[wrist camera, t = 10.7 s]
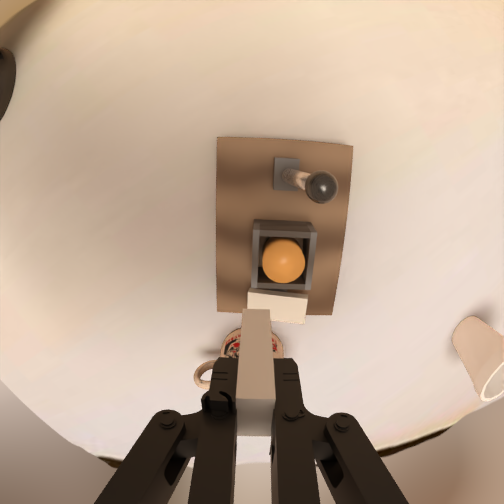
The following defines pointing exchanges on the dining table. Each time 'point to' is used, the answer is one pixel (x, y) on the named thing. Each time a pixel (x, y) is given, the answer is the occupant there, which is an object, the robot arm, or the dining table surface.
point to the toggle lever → (313, 184)
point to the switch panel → (278, 218)
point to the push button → (282, 259)
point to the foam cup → (481, 356)
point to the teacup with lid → (232, 355)
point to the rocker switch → (279, 304)
